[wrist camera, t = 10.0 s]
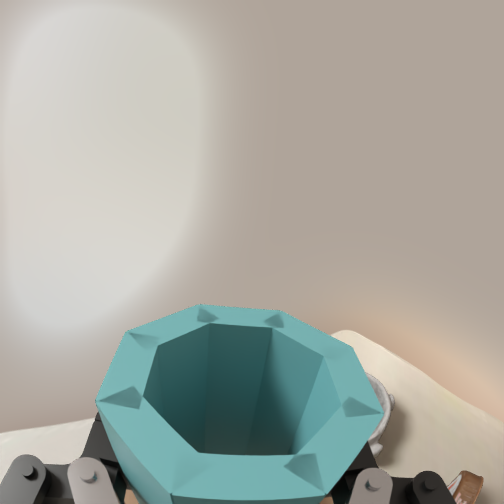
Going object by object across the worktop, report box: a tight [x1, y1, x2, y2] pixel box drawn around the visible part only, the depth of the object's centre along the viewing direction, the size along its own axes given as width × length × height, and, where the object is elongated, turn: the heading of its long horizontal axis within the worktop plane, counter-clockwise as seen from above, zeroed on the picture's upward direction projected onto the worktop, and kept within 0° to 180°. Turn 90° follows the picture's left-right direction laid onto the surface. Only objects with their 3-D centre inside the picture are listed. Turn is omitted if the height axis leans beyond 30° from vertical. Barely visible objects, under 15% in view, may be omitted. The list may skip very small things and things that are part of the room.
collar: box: [95, 304, 384, 504], centre depth 9 cm, size 6×6×10 cm
